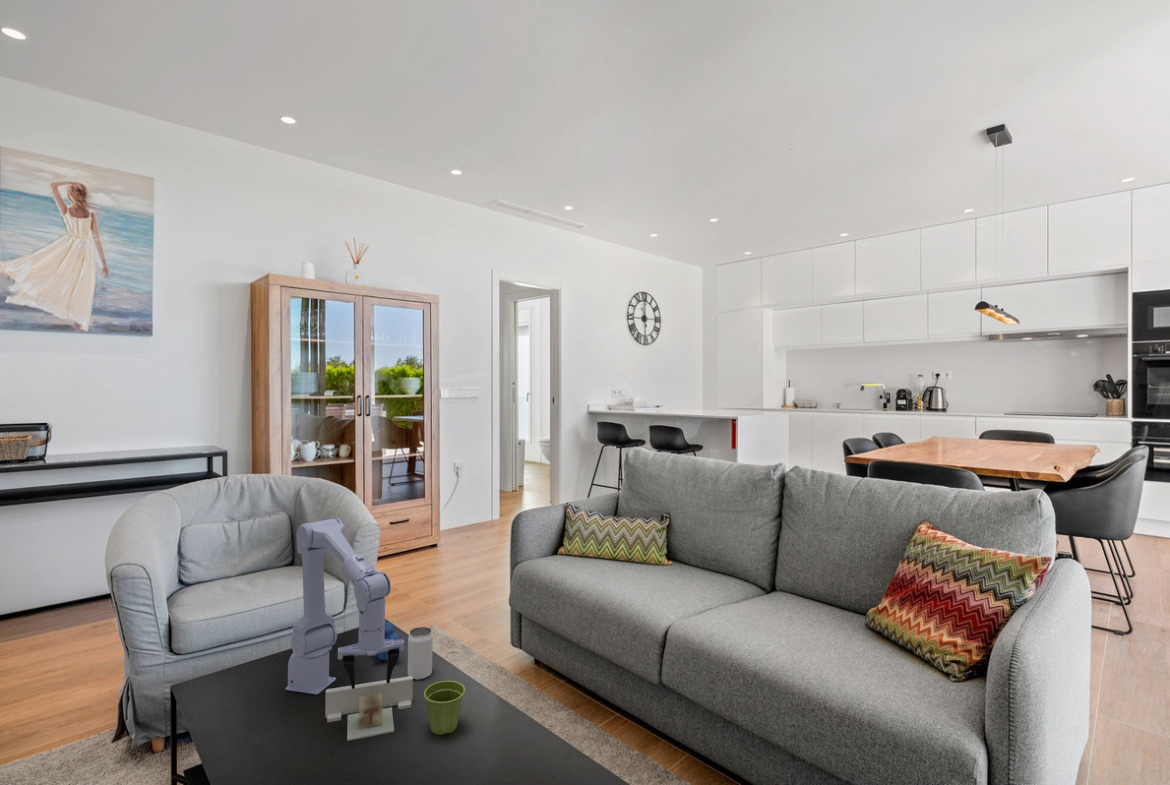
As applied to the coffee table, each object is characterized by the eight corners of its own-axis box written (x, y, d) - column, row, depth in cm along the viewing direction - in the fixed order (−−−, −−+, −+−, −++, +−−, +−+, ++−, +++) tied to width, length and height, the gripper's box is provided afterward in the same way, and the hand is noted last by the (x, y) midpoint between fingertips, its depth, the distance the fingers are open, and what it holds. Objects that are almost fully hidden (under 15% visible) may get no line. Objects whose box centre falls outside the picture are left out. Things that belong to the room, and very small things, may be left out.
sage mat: (347, 740, 131) (347, 739, 131) (347, 716, 140) (347, 714, 140) (394, 732, 134) (394, 730, 134) (391, 708, 144) (391, 707, 144)
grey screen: (324, 722, 137) (325, 697, 137) (326, 709, 143) (326, 684, 143) (413, 707, 144) (413, 683, 144) (411, 694, 150) (411, 671, 150)
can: (435, 669, 163) (436, 627, 163) (426, 681, 157) (427, 637, 157) (413, 667, 164) (413, 625, 164) (403, 679, 158) (404, 635, 157)
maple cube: (359, 730, 134) (359, 708, 134) (358, 717, 139) (359, 697, 139) (382, 726, 136) (382, 704, 136) (381, 714, 141) (381, 693, 140)
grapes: (357, 661, 167) (357, 620, 166) (375, 652, 173) (375, 612, 172) (387, 671, 162) (388, 628, 161) (405, 661, 168) (405, 619, 167)
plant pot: (471, 720, 139) (472, 684, 139) (450, 743, 130) (451, 705, 130) (438, 712, 142) (438, 677, 142) (414, 734, 134) (415, 697, 133)
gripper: (337, 638, 131) (336, 698, 131) (405, 629, 136) (404, 687, 136) (338, 625, 137) (337, 682, 137) (403, 617, 142) (402, 672, 143)
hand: (370, 683), depth 137 cm, fingers open, 7 cm apart
